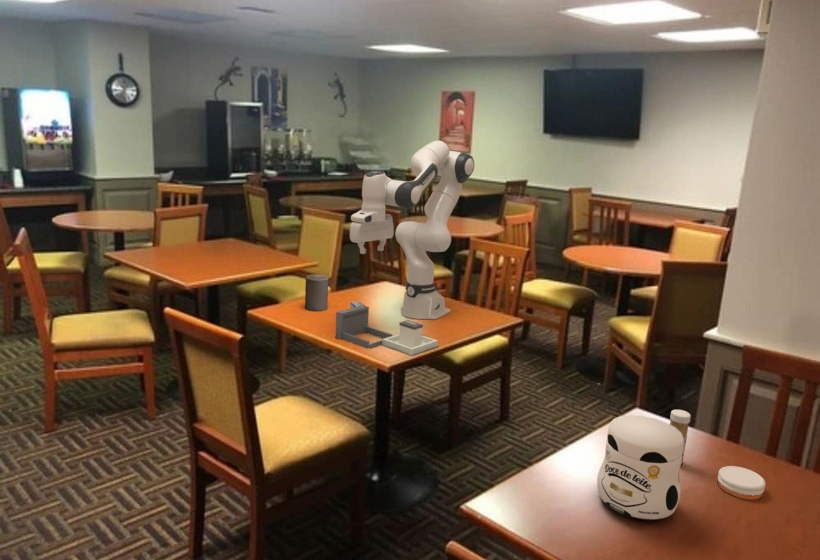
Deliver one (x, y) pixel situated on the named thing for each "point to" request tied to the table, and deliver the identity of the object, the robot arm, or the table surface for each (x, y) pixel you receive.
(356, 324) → the bay
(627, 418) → the doce de leite jar
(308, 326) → the table surface
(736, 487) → the white round piece
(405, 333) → the block
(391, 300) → the table surface
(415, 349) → the tray
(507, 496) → the table surface
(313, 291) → the pillar candle
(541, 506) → the table surface
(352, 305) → the medicine box
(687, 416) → the sprinkles bottle
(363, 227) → the robot arm
